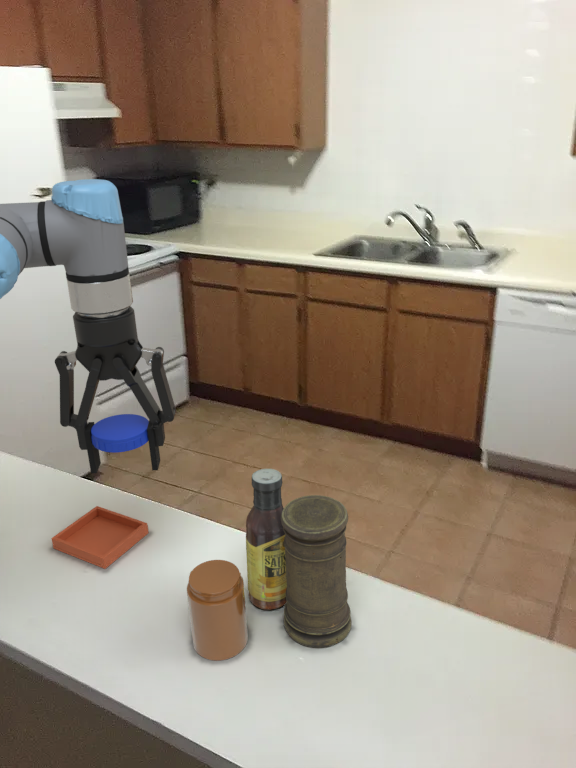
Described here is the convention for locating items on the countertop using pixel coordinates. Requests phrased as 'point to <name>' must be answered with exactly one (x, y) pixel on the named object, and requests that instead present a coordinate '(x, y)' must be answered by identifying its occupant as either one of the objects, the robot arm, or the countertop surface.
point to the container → (316, 571)
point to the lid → (120, 433)
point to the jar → (217, 610)
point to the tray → (100, 536)
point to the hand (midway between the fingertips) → (126, 466)
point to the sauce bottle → (266, 542)
